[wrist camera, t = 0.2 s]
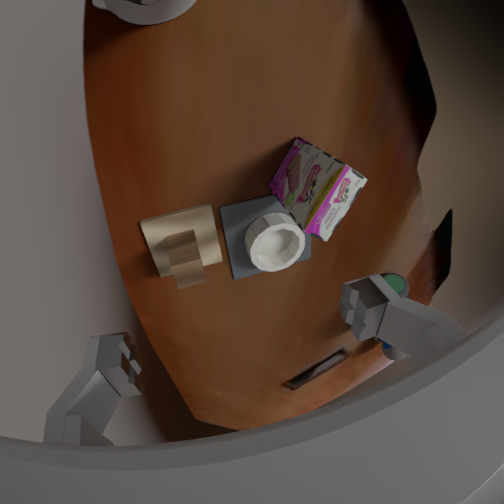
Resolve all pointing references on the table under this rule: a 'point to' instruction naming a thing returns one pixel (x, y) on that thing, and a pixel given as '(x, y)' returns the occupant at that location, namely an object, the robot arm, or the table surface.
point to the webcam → (391, 350)
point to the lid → (183, 243)
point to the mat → (236, 226)
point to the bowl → (274, 241)
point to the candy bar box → (315, 188)
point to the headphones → (397, 284)
